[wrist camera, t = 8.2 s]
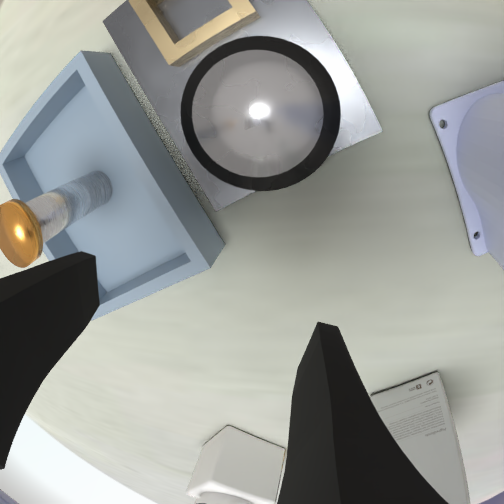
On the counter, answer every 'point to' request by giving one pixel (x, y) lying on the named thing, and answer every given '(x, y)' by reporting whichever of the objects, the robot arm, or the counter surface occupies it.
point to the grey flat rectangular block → (244, 88)
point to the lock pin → (49, 215)
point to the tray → (122, 179)
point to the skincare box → (426, 434)
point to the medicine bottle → (237, 470)
